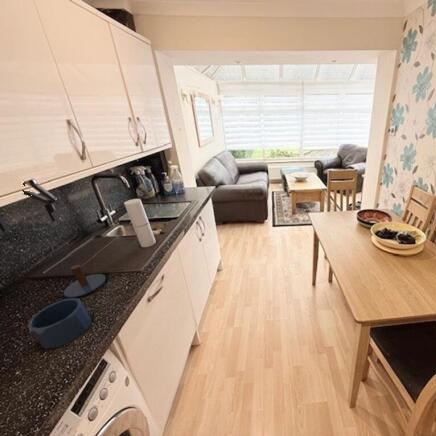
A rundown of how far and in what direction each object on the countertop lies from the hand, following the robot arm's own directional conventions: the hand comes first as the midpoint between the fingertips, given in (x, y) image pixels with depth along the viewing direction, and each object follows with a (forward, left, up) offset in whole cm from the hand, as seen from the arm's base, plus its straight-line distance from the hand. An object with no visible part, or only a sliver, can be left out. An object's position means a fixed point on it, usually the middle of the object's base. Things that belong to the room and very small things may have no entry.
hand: (31, 225), depth 90 cm
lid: (+8, -9, -27) cm, 30 cm away
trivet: (+8, -9, -28) cm, 31 cm away
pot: (+6, -33, -28) cm, 44 cm away
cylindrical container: (+32, +15, -29) cm, 45 cm away
